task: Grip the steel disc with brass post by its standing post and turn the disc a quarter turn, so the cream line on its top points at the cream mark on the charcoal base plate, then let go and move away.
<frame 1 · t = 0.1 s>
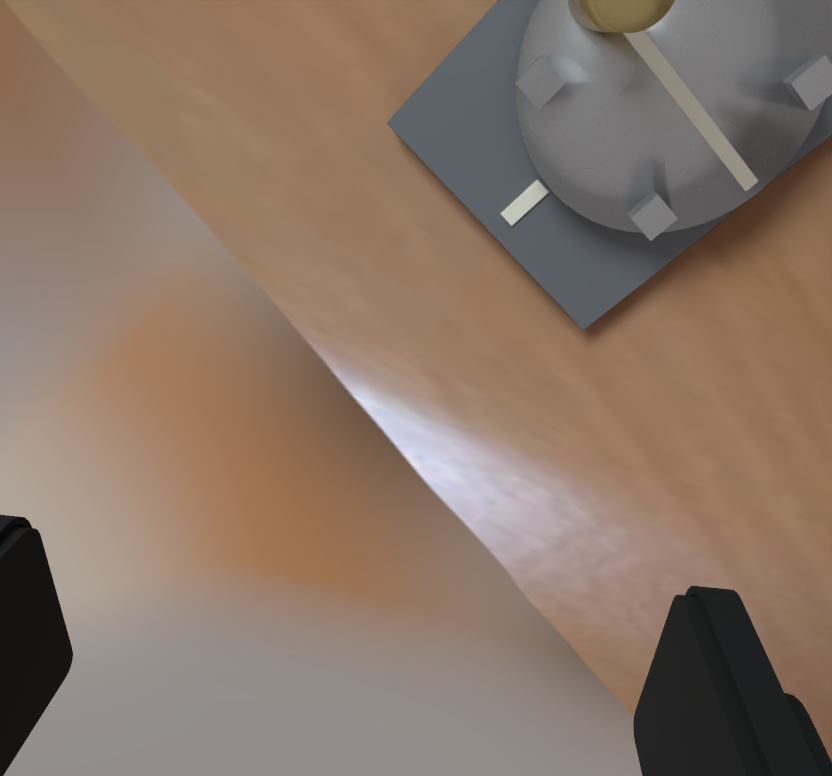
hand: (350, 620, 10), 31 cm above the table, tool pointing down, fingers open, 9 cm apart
disc with brass post: (686, 86, 28), point 6 cm above the table, hinge at 0.0°
base plate: (652, 76, 34), on the table
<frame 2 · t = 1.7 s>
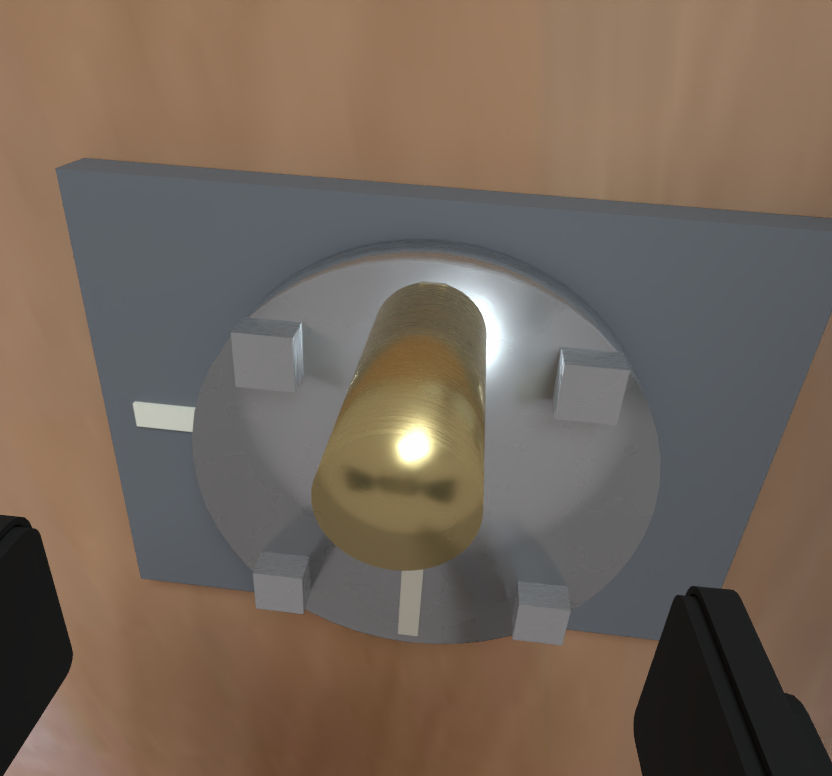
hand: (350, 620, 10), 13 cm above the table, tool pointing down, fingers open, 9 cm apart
disc with brass post: (409, 542, 18), point 6 cm above the table, hinge at 0.0°
base plate: (429, 418, 23), on the table
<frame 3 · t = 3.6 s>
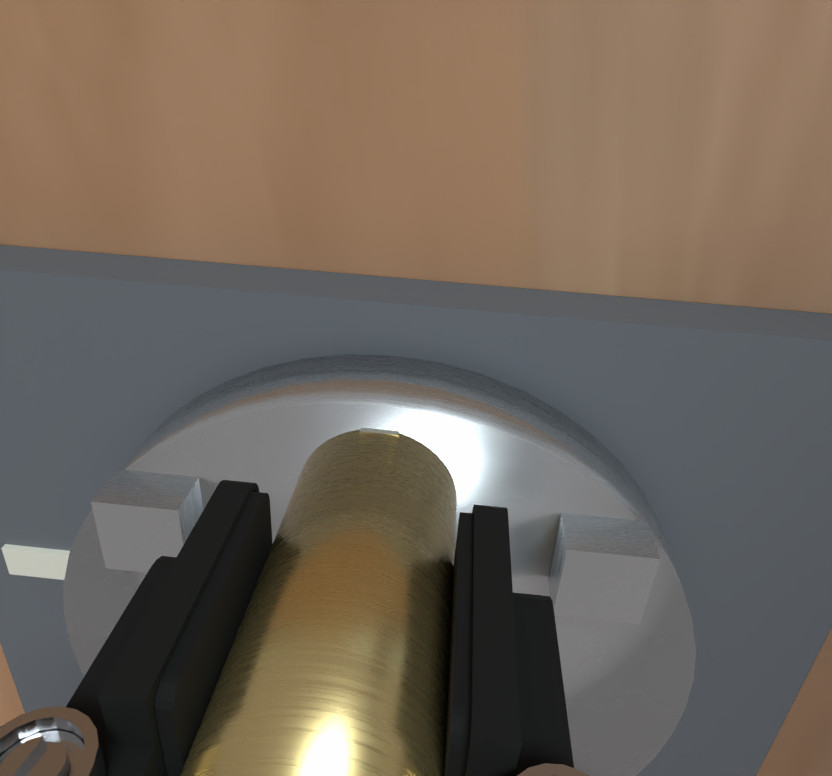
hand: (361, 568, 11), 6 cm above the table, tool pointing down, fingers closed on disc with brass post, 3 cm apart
base plate: (390, 555, 18), on the table
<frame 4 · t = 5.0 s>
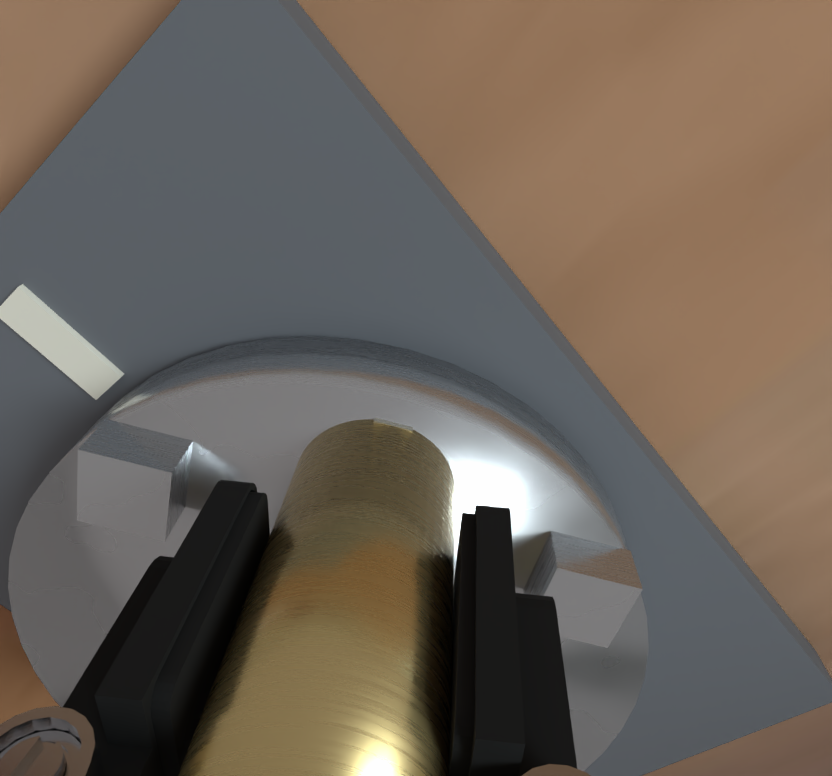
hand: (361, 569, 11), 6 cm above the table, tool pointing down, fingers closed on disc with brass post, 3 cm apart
disc with brass post: (300, 771, 13), point 6 cm above the table, hinge at 35.1°, touching gripper
base plate: (350, 544, 18), on the table
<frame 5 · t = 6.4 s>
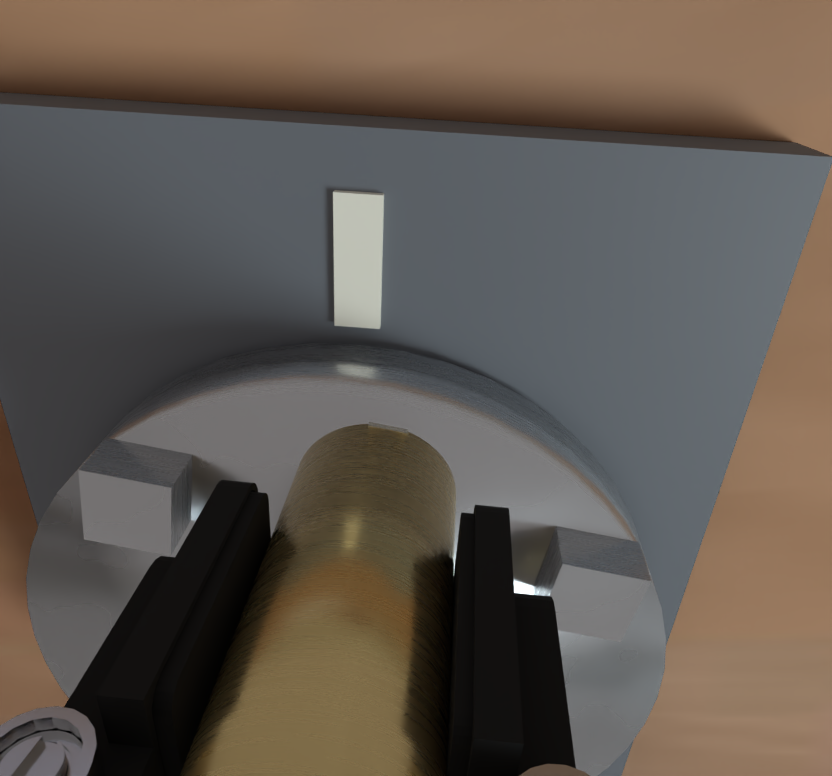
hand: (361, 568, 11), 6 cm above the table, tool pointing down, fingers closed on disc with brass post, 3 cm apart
base plate: (364, 547, 18), on the table
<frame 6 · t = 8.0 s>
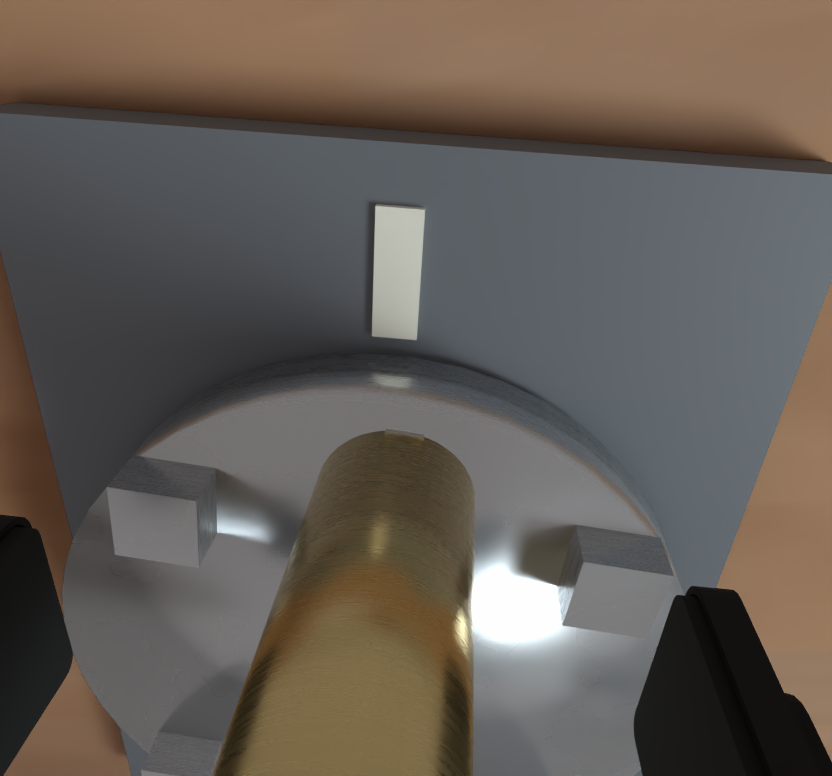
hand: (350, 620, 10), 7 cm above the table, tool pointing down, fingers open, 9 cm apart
base plate: (389, 554, 18), on the table
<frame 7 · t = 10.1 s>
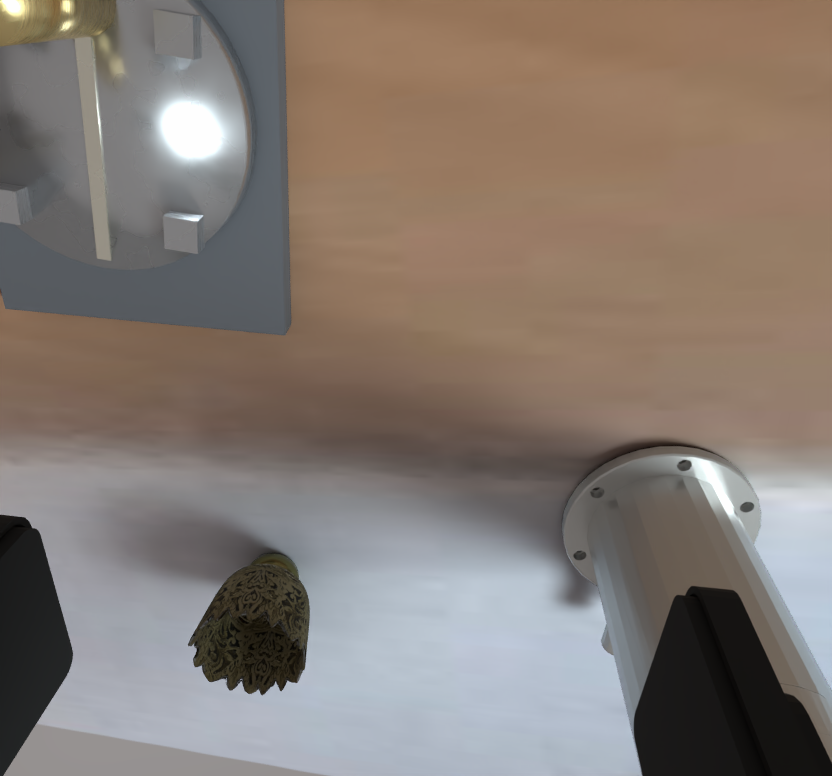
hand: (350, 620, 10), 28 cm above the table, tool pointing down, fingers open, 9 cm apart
disc with brass post: (63, 132, 28), point 6 cm above the table, hinge at 85.9°
base plate: (128, 110, 33), on the table
cup: (276, 565, 49), on the table
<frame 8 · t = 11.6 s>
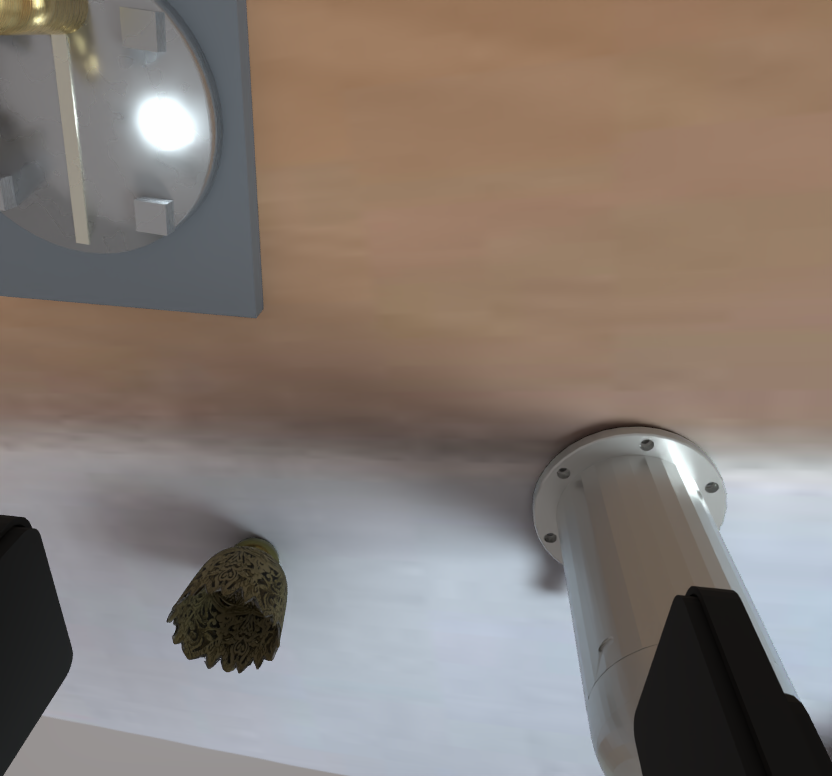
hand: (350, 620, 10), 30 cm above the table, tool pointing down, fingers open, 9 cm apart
disc with brass post: (39, 120, 30), point 6 cm above the table, hinge at 85.9°
base plate: (107, 106, 36), on the table
cup: (258, 550, 51), on the table
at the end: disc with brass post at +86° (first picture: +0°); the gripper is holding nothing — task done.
